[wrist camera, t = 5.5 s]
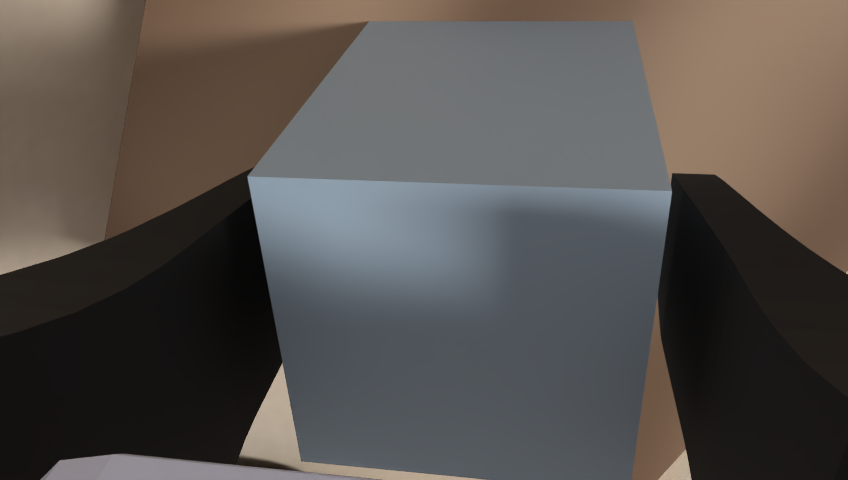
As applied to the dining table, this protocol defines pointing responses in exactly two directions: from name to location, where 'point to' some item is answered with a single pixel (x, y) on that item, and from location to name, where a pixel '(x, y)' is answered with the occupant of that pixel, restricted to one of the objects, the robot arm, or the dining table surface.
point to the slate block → (469, 250)
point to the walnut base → (641, 3)
